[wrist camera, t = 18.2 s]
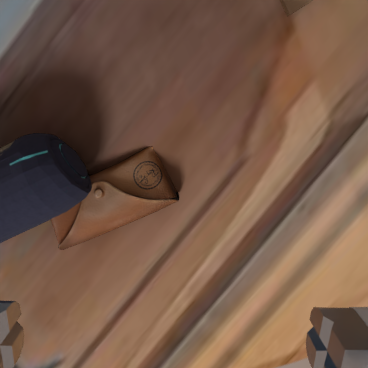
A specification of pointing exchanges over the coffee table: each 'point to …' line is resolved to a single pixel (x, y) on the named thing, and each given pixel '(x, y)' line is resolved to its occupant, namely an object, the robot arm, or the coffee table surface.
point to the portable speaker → (38, 182)
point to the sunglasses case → (117, 199)
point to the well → (293, 5)
